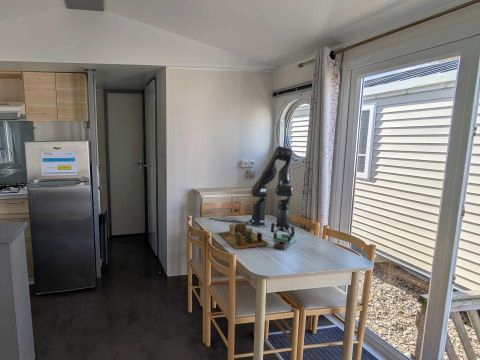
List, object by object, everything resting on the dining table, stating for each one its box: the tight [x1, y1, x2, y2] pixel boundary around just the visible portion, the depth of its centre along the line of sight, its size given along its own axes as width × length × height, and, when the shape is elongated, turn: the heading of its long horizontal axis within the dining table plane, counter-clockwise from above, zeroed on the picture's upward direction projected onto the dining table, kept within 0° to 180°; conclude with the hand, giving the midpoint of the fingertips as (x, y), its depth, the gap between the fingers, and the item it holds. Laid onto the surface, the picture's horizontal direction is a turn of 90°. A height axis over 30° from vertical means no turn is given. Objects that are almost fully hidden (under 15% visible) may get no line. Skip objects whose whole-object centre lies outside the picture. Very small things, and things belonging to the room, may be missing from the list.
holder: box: [275, 233, 296, 246], centre depth 205 cm, size 11×9×3 cm
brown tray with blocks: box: [218, 222, 269, 250], centre depth 207 cm, size 35×24×15 cm
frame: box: [274, 241, 289, 251], centre depth 194 cm, size 8×6×3 cm
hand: (282, 240), depth 193 cm, fingers open, 8 cm apart
